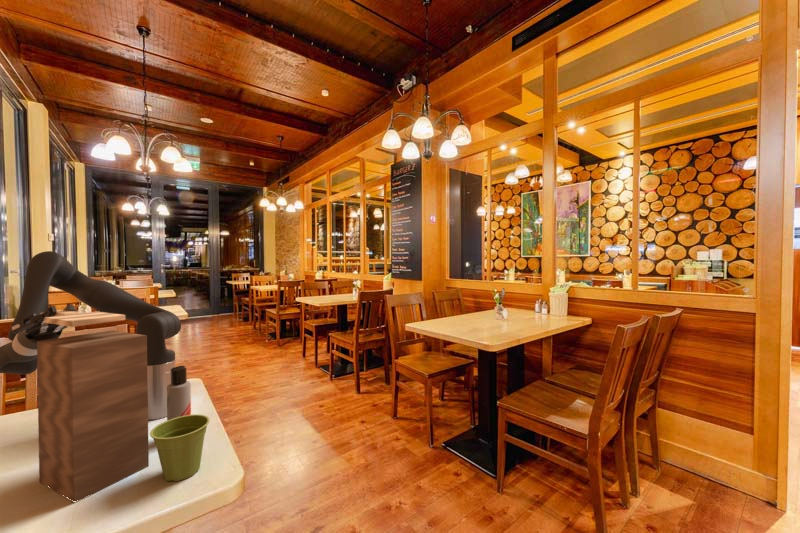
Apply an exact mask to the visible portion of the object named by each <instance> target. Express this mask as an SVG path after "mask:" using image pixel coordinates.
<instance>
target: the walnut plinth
mask: <svg viewBox="0 0 800 533" xmlns="http://www.w3.org/2000/svg"><path fill="white" fill-rule="evenodd" d="M36 372H37V411H38V412H37V414H38V415H37V420H38V467H39V468H38V469H39V470H38V472H39V473H38V474H39V478H38V479H39V483H40V484H41V483H42V484H41V485H43V484H45V485H47V486H49V487H50V488H51V489H50V488H49V489H50V490H52V489H53V490H54V492H55V491H56V492H55V493H57V492H58V493H59V495H60V494H61V495H60V496H62V495H64V496H65V497H68V498H69V499H71V500H73V501H77V500H80V499H82V498H84V497H86V496H88V495H90V496H92V495H94V494H97V493H98V492H100V491H102V490H103V489H107V488H108V487H110V486H112V485H114V484H116V483H118V482H120V481H123V480H124V479H127V478H128V477H130V476H132V475H134V474H136V473H139V472H140V471H142V470H144V469H146V468H148V467H149V466H150V463H149V462H150V460H149V456H150V455H149V454H150V453H149V420H148V379H147V335H141V334H136V333H133V332H125V331H120V330H111V329H109V330H104V331H97V332H96V331H95V332H90V333H84V334H79V335H70V336H64V337H59V338H57V339H50V340H44V341H37V369H36ZM45 485H44V486H45ZM53 490H52V491H53ZM58 493H57V494H58ZM91 494H92V495H91ZM65 497H64V498H65ZM88 497H89V496H88ZM86 498H87V497H86ZM84 499H85V498H84ZM82 500H83V499H82ZM80 501H81V500H80Z"/></svg>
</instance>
